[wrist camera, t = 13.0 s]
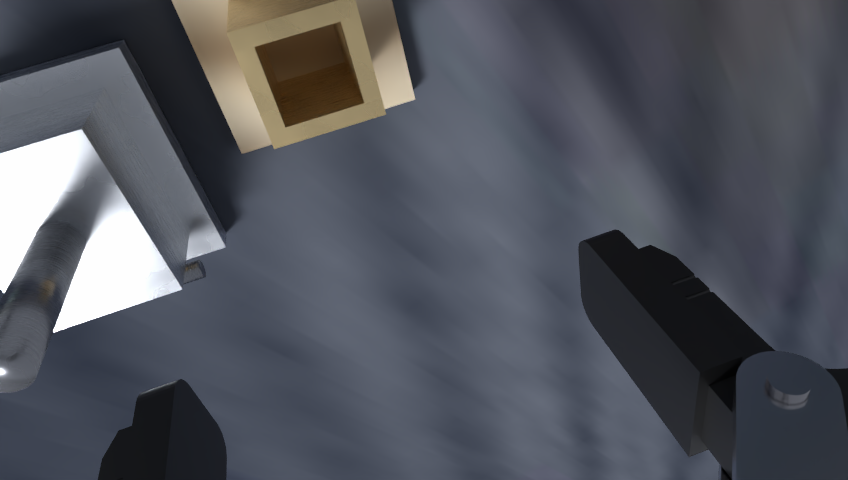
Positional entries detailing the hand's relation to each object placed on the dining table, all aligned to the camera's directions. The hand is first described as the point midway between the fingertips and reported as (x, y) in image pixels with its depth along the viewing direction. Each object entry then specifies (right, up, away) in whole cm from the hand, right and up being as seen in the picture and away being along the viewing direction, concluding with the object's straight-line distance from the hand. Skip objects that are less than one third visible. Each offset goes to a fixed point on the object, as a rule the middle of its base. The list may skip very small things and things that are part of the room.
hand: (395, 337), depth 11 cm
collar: (-6, +12, +18) cm, 22 cm away
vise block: (-17, +5, +20) cm, 27 cm away
